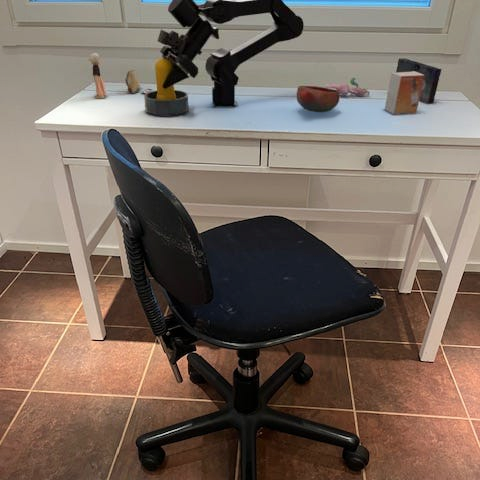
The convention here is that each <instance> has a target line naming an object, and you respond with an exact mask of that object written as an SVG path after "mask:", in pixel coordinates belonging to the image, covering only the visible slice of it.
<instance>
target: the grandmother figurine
mask: <svg viewBox="0 0 480 480" xmlns="http://www.w3.org/2000/svg"><path fill="white" fill-rule="evenodd" d="M88 61H90V63H91V64H92V76H93V81H94V84H95V85H94V86H95V94H96V95H95V97H96V99H105V98H106V97H105V96H106V95H107V91H106V90H107V89H106V87H105V83H104V80H103V78H102V76H101V70H100V62H101V61H100V55H99V54H98V53H96V52H92V53H91V54H89V57H88Z"/></svg>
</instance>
